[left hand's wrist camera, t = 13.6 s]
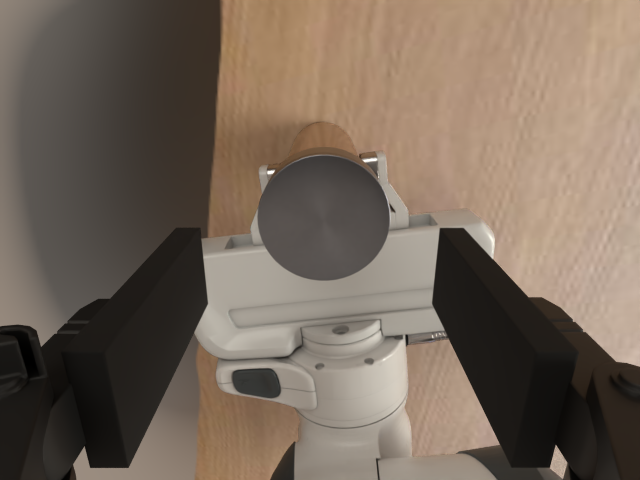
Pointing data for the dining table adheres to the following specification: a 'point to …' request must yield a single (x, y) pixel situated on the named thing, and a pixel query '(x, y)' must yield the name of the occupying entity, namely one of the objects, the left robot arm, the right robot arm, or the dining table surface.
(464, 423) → the dining table surface
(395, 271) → the right robot arm
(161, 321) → the left robot arm
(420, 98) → the dining table surface
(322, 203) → the lid
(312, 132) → the jar
